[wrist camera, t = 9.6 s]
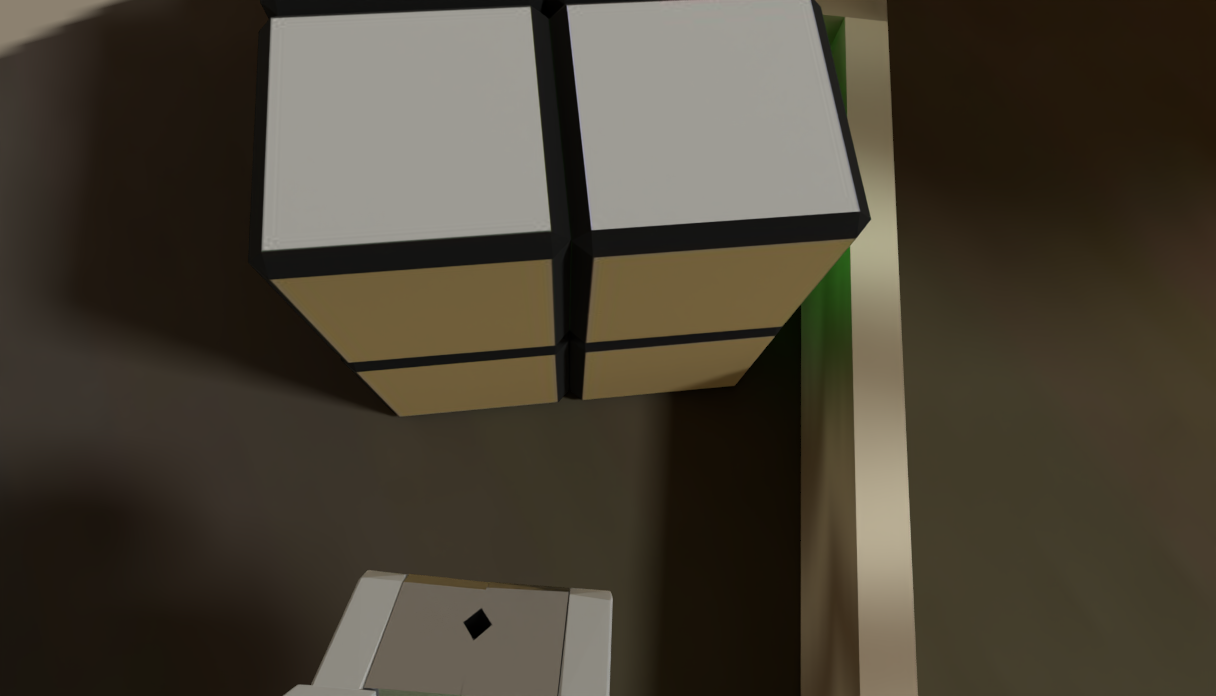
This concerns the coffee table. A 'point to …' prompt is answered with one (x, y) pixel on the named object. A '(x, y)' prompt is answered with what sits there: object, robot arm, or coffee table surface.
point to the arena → (857, 411)
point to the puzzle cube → (548, 189)
